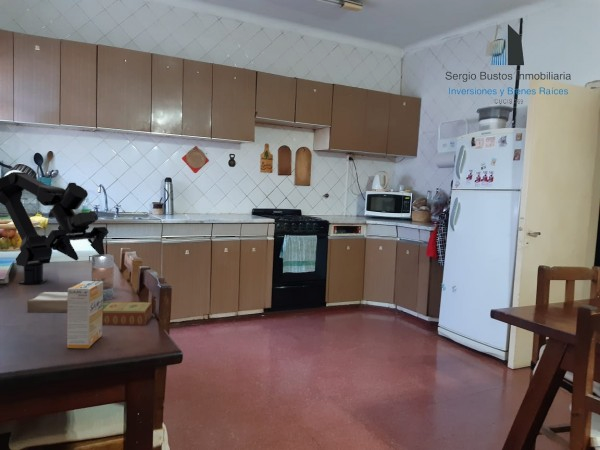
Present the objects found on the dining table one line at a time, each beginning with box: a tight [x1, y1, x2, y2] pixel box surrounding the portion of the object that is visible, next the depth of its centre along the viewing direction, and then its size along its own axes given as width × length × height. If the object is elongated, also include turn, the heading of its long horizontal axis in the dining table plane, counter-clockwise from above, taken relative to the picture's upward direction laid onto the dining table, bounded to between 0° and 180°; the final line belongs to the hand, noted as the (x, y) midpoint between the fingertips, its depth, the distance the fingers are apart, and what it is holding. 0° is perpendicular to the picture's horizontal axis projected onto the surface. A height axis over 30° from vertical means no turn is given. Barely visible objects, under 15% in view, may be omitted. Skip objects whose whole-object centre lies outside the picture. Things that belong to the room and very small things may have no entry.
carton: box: [102, 301, 153, 326], centre depth 115 cm, size 8×16×4 cm, turn 97°
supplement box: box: [66, 280, 104, 349], centre depth 98 cm, size 8×5×13 cm, turn 5°
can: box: [91, 253, 115, 301], centre depth 135 cm, size 6×6×13 cm
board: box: [26, 291, 68, 313], centre depth 123 cm, size 10×10×3 cm
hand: (90, 257), depth 136 cm, fingers open, 9 cm apart
